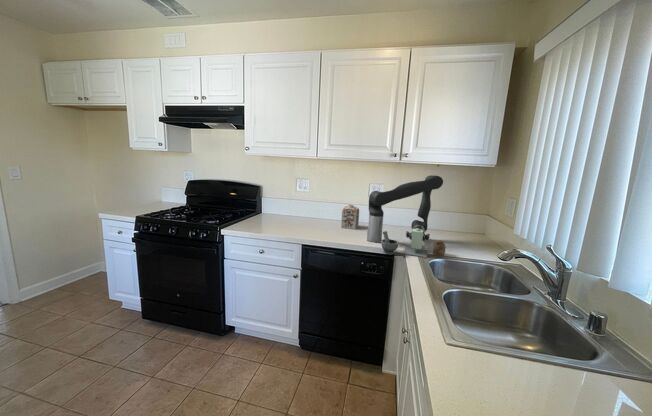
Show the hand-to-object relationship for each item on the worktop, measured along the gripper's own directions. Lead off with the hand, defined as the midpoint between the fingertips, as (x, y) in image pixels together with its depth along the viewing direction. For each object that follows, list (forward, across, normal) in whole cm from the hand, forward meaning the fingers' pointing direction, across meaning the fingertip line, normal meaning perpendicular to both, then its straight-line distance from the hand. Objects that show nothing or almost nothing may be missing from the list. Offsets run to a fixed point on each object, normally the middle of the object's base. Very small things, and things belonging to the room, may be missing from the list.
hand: (416, 238), depth 158 cm
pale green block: (-2, 0, +6) cm, 6 cm away
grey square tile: (-2, 0, +9) cm, 9 cm away
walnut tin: (-6, +13, +9) cm, 17 cm away
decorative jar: (-42, -52, +9) cm, 68 cm away
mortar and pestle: (+5, -15, +9) cm, 18 cm away
